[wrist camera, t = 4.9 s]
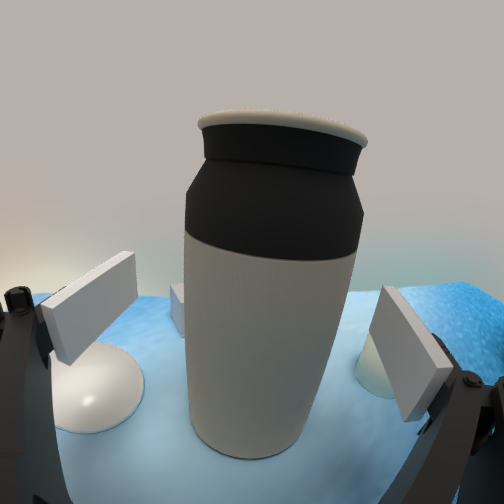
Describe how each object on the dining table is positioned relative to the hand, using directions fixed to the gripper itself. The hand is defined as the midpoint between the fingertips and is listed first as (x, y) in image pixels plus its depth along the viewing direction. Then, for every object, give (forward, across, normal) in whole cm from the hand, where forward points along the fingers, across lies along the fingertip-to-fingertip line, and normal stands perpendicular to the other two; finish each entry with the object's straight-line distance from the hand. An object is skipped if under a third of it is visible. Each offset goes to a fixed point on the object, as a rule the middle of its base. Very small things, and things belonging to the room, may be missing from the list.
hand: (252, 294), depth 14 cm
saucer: (-1, -12, -10) cm, 16 cm away
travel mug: (0, 0, -10) cm, 10 cm away
